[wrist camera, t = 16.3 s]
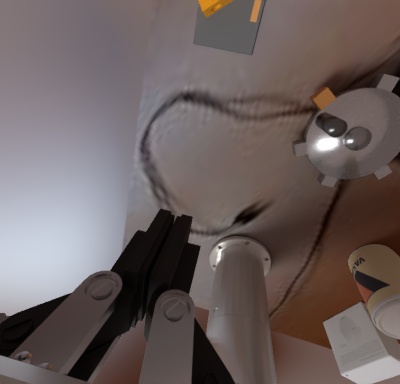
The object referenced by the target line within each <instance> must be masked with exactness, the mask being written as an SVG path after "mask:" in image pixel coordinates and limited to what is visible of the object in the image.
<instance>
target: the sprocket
mask: <svg viewBox="0 0 400 384" xmlns="http://www.w3.org/2000/svg"><path fill="white" fill-rule="evenodd" d="M398 80H399V78H398V77H394V76H391V75H387V74H376V75H375V77H374V79H373V81H372V83H371V84H370V86H369V88H368V87H359V88H352V89H348V90H345V91H342V92H340V93H338V94H336V95H333V93H332V92H331V91H330V90H329V88H328V87H324V86H323V87H321V88H320V89H319V90H318V91H317V92H316V93H315V94H313V95H312V96H311V97H310V98H309V99H310V100H311V101H312V102H313V104H314V105H315V106H316V107H317V108H318V109H317V110H316V111H315V112H314V113H313V115H312V116H311V118H310V120H309V121H308V123H307V126H306V129H305V132H304V139H300V140H296V141H292V144H293V152H294V154H295V156H296V157H297V156H302V155H307V157H308V159H309V160H310V161H311V163H312V164H313V165H314V167H315V168H316V169H317V170H319V171H320V172H321V174H320V176H319V177H318V181H319V182H320V184H322V185H325V186H329V187H332V188H333V186H334V185H335V183H336V181H337V180H338V179H354V178H360V177H363V176H366V175H369V174H371V173H372V175H374V176H375V177H376V178H377V179H379V180H380V179H381V178H383V177H385V176H386V175H388V174H390V173H392V171H391V169H390V168H389V167H388V165H387V164H388V163H389V162H390V161H391V160H392V159H394V158H395V156H396V155H397V154H398V153H399V152H400V98H399V97H398V96H397V95H395V94H394V93H392V92H391V91H392V90H393V88H394V87H395V85H396V83H397V82H398Z"/></svg>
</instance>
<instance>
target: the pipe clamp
mask: <svg viewBox="0 0 400 384" xmlns="http://www.w3.org/2000/svg"><path fill="white" fill-rule="evenodd" d="M198 1H199V4H200V6H201V9H202V11H203V13H204V15H205V16H206V18H207V17H209V16H210V15H212V14H213V13H215V12H216V11H218V10H219V9H221V8H222V7H224V6H226V5H227V4H229V3H230V2H232V1H233V0H198Z"/></svg>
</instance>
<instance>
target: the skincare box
mask: <svg viewBox="0 0 400 384" xmlns="http://www.w3.org/2000/svg"><path fill="white" fill-rule="evenodd" d="M323 324H324V327H325V329H326V332H327V335H328V338H329V341H330V344H331V347H332V349H333V352H334V355H335V358H336V361H337V364H338V367H339V370H340V373H341V375H342V376H344V377H346V378H348V379H350V380H352V381H353V382H355V383H357V384H372V383H375V382H379V381H382V380H385V379H387V378H391V377H394V376H396V375H399V374H400V345H399V344H398V342H397V340H396V338H393V337H390V336H388V335H386V334H384V333H383V332H382V331H380V330H379V329H378V328H377V327H376V326H375V325H374V323H373V321H372V319H371V315H370V313H369V310H368V308H367V306H366V304H364V303H363V302H359V303H357V304H356V305H354V306H352V307H350V308H348V309H346V310H344V311H343V312H341V313H339V314H337V315H335V316H333V317H332V318H330V319H328V320H326V321H324V322H323Z"/></svg>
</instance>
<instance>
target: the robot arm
mask: <svg viewBox="0 0 400 384" xmlns="http://www.w3.org/2000/svg"><path fill="white" fill-rule="evenodd" d="M174 217H175V216H174V215H172V214H171V211H167V210H163V209H160V210H159V212H158V213H157V215H156V217H155V218H154V220H153V222H152V223H151V225H150V226H149V228H148V230H147V231H146V232H144V231H140V230H138V231H137V232H136V233H135V235H134V236H133V238H132V239H131V241H130V242H129V244H128V245H127V246H126V248H125V249H124V251H123V252H122V254H121V255H120V257H119V258H118V260H117V261H116V263H115V264H114V266H113V267H112V269H111V270H110V271H100V272H96V273H94V274H92V275H90V276H89V277H88V278H87V279H85V280H84V281H83V282H82V283H81V285H79V286H78V287H77V288H76V290H75V291H73V292H72V293H70V294H67V295H64V296H62V297H59V298H56V299H53V300H51V301H48V302H45V303H43V304H40V305H37V306H34V307H32V308H29V309H27V310H24V311H21V312H18V313H16V314H14V315H12V316H6V314H5V313H0V384H92V383H93V381H94V379H95V378H96V376H97V374H98V373H99V371H100V370H101V368H102V367H103V365H104V363H105V361H106V360H107V359H108V357H109V355H110V354H111V352H112V351H113V349H114V347H115V346H116V344H117V343H118V341H119V339H120V337H121V334H123V333H125V332H127V331H129V329H130V327H134V328H135V326H136V323H137V321H138V320H140V321H142V320H143V318H144V316H145V313H146V320H145V330H144V336H145V338H146V341H147V347H146V351H145V357H144V361H143V366H142V370H141V375H140V380H139V384H277V380H276V374H275V367H274V361H273V360H274V359H273V352H272V343H271V334H270V323H269V314H268V305H267V295H266V285H265V276H266V275H267V273H268V272H269V270H270V267H271V258H270V254H269V252H268V250H267V249H266V248H265V247H264V246H263V245H262V244H261V243H260V242H258V241H256V240H254V239H252V238H248V237H243V236H232V237H227V238H224V239H222V240H220V241H219V242H217V243H216V244H215V245H214V246H213V248H212V250H211V252H210V265H211V267H212V269H213V270H214V272H215V276H214V283H213V290H212V297H211V304H210V311H209V318H208V325H207V331H206V335H205V333H204V331H203V330H202V328H201V327H200V325H199V324H198V322H197V320H196V319H195V317H194V314H195V308H194V302H193V300H192V298H191V297H190V296H189V292H190V288H191V284H192V280H193V276H194V271H195V267H196V263H197V259H198V255H199V251H200V247H201V246H198V245H194V244H191V243H188V239H189V234H190V229H191V224H192V218H193V217H191V216H187V215H183V214H182V216H181V217H180V216H177V218H176V220H175V222H174Z"/></svg>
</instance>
